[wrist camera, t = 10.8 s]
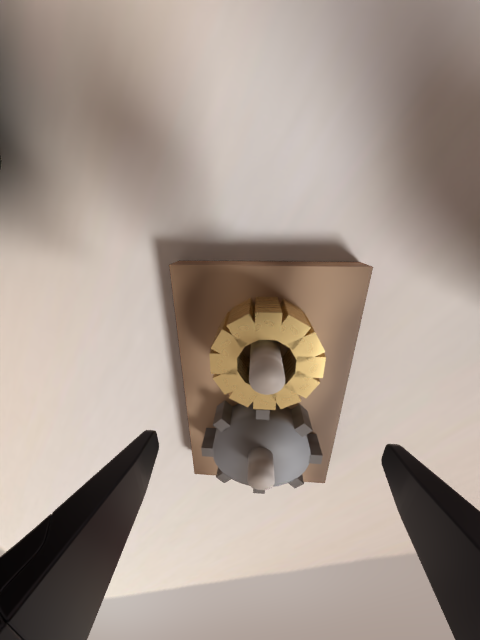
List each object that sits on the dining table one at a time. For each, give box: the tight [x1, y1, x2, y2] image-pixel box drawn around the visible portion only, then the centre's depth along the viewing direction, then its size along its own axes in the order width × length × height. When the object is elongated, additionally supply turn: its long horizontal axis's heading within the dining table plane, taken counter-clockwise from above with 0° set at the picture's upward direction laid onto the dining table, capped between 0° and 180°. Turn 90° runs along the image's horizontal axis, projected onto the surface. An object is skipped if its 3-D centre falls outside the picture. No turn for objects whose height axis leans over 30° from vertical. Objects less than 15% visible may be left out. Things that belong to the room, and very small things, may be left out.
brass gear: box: [209, 297, 326, 410], centre depth 15 cm, size 7×7×3 cm
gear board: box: [169, 261, 373, 494], centre depth 17 cm, size 13×21×6 cm, turn 0°
